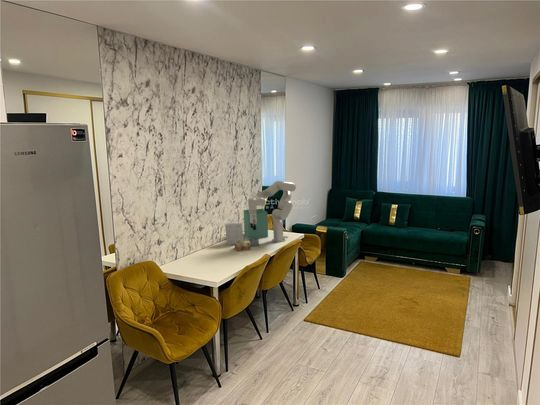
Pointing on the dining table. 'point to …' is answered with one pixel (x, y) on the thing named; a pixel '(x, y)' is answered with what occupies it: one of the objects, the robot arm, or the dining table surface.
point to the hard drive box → (234, 233)
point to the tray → (242, 246)
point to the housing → (254, 242)
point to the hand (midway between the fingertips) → (253, 228)
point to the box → (260, 225)
